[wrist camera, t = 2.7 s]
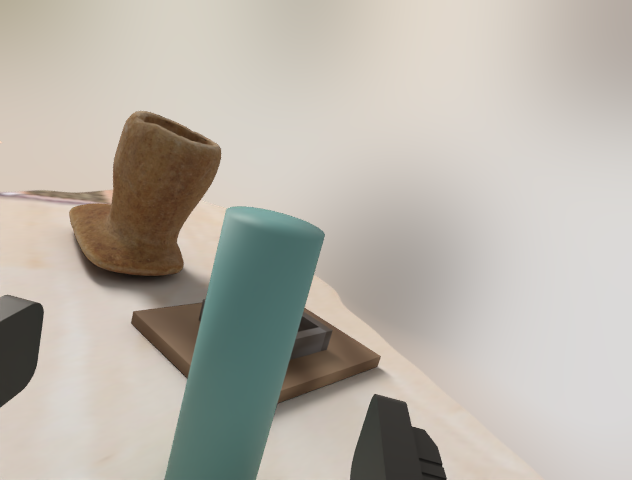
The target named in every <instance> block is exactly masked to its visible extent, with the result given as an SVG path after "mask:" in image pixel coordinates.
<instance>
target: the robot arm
mask: <svg viewBox="0 0 632 480" xmlns="http://www.w3.org/2000/svg"><path fill="white" fill-rule="evenodd" d="M43 315H44V310H43V307H42V305H41V304H40V303H37V302H33V301H29V300H26V299H22V298H18V297H14V296H11V295H4V296H2V297H0V407H2V406H3V405H4V404H5V403H7V402H8V401H9V400H11V399H12V398H13V397H14V396H16V395H17V394H18V393H19V392H21V391H22V390H23V389H24V388H25V387H26V386H27V384H28V383H29V382H30V380H31V378H32V376H33V374H34V372H35V369H36V366H37V361H38V353H39V346H40V338H41V331H42V323H43ZM446 479H447V478H446V475H445V471H444V468H443V467H442V461H441V457H440V454H439V450H438V447H437V446H436V444H435V443H434V442H433V440H432V439H431V438H430V436H429V435H428V434H427V433H426V431H425V430H423V429H419V428H416V427H412V426H411V421H410V417H409V412H408V408H407V404H406V402H403V401H400V400H396V399H392V398H388V397H385V396H381V395H377V394H374V396H373V397H372V399H371V402H370V405H369V408H368V411H367V414H366V417H365V421H364V424H363V427H362V430H361V433H360V436H359V440H358V443H357V446H356V449H355V453H354V457H353V461H352V467H351V475H350V480H446Z"/></svg>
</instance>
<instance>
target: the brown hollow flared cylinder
mask: <svg viewBox="0 0 632 480" xmlns="http://www.w3.org/2000/svg"><path fill="white" fill-rule="evenodd" d="M220 160H221V148H220V147H219V145H218V144H216V143H214V142H213V141H211V140H210V139H208V138H206V137H204V136H202V135H201V134H199V133H197V132H193V131H191V130H190V129H188V128H187V127H185V126H183V125H181V124H179V123H177V122H174V121H172V120H169V119H167V118H164V117H162V116H160V115H156V114H154V113H151V112H147V111H138V112H135V113H133V114H132V115H131V116H130V117H129V118H128V119H127V121H126V123H125V125H124V128H123V131H122V134H121V137H120V141H119V144H118V147H117V151H116V154H115V158H114V164H113V197H112V204H111V205H109V204H86V205H80V206H77V207H73V208H72V209H71V210H70V212H69V216H70V222H71V225H72V228H73V230H74V234H75V237H76V239H77V242H78V244H79V246H80V247H81V249H82V251H83V253H84V254H85V256H86V257H87V258H88V259H89V260H90V261H91V262H92V263H93V264H95V265H96V266H98V267H100V268H103V269H106V270H109V271H113V272H118V273H125V274H131V275H143V276H161V275H167V274H175V273H178V272H180V271H181V270H182V269H183V265H184V262H183V259H182V255H181V251H180V249H179V247H178V244H177V238H178V234H179V231H180V229H181V228H182V226H183V224H184V222H185V221H186V219H187V218H188V216H189V215H190V213H191V212H192V211H193V209H194V208H195V207H196V205H197V204H198V203H199V201H200V200H201V198H202V197H203V195H204V194H205V193H206V191H207V190H208V188H209V187H210V185H211V184H212V182H213V180H214V177H215V175H216V173H217V170H218V167H219V164H220Z"/></svg>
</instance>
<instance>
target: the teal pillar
mask: <svg viewBox="0 0 632 480" xmlns="http://www.w3.org/2000/svg"><path fill="white" fill-rule="evenodd" d="M324 236H325V234H324V232H323V231H322V230H320V229H319V228H318V227H316V226H314V225H312V224H310V223H308V222H306V221H303V220H301V219H298V218H295V217H292V216H289V215H286V214H283V213H279V212H275V211H271V210H265V209H260V208H254V207H230V208H228V209H227V210H226V213H225V217H224V222H223V226H222V230H221V235H220V239H219V243H218V248H217V252H216V257H215V261H214V265H213V270H212V274H211V279H210V283H209V287H208V292H207V296H206V300H205V305H204V309H203V314H202V318H201V322H200V327H199V331H198V335H197V340H196V344H195V349H194V353H193V357H192V362H191V366H190V370H189V375H188V379H187V384H186V388H185V392H184V397H183V401H182V405H181V410H180V414H179V419H178V423H177V427H176V432H175V436H174V440H173V445H172V449H171V454H170V458H169V462H168V467H167V471H166V476H165V480H256V477H257V474H258V470H259V466H260V463H261V459H262V456H263V452H264V449H265V445H266V442H267V438H268V435H269V431H270V428H271V424H272V421H273V417H274V413H275V410H276V406H277V403H278V399H279V396H280V392H281V389H282V385H283V382H284V378H285V375H286V371H287V367H288V364H289V360H290V357H291V353H292V350H293V346H294V343H295V339H296V336H297V332H298V329H299V325H300V322H301V318H302V314H303V311H304V307H305V304H306V300H307V297H308V293H309V290H310V286H311V283H312V279H313V276H314V272H315V268H316V265H317V261H318V258H319V254H320V251H321V247H322V244H323V240H324Z"/></svg>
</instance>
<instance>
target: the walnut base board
mask: <svg viewBox="0 0 632 480" xmlns="http://www.w3.org/2000/svg"><path fill="white" fill-rule="evenodd" d="M204 305H205V300H203V302H202V303H196V304H188V305H180V306H172V307H164V308H157V309H149V310H141V311H133V316H132V322H131V323H132V324H133V325H134V326H135V327H136V328H137V329H138V330H139V331H140V332H141V333H142V334H143V335H144V336H145V337H146V338H147V339H148V340H149V341H150V342H151V343H152V344H153V345H154V346H155V347H156V348H157V349H158V350H159V351H160V352H161V353H162V354H163V355H164V356H165V357H166V358H167V359H168V360H169V361H170V362H171V363H172V364H173V365H174V366H176V367H177V368H178V369H179V370H180V371H181V372H182V373H183V374H184V375H185V376H186V377H187V378H188V375H189V370H190V366H191V362H192V357H193V353H194V349H195V344H196V340H197V335H198V331H199V327H200V322H201V318H202V314H203V309H204ZM380 357H381V356H380V355H378V354H376V353H375V352H373V351H372V350H370V349H369V348H367V347H365V346H364V345H362V344H361V343H359V342H358V341H356V340H354V339H353V338H351V337H350V336H348V335H347V334H345V333H343V332H342V331H340V330H339V329H337V328H336V327H334V326H332V325H331V324H329V323H328V322H326V321H325V320H323V319H321V318H320V317H318V316H317V315H315V314H314V313H312V312H310V311H309V310H307V309H306V308H304V311H303V314H302V318H301V322H300V325H299V329H298V332H297V336H296V339H295V343H294V346H293V350H292V353H291V357H290V360H289V364H288V367H287V371H286V375H285V378H284V382H283V385H282V389H281V392H280V396H279V399H278V403H280V402H283V401H285V400H288V399H291V398H293V397H296V396H299V395H302V394H304V393H307V392H310V391H312V390H315V389H318V388H320V387H323V386H326V385H329V384H331V383H334V382H337V381H339V380H342V379H345V378H348V377H350V376H353V375H356V374H358V373H361V372H364V371H367V370H369V369H372V368H375V367H377V366H378V363H379V360H380Z"/></svg>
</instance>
